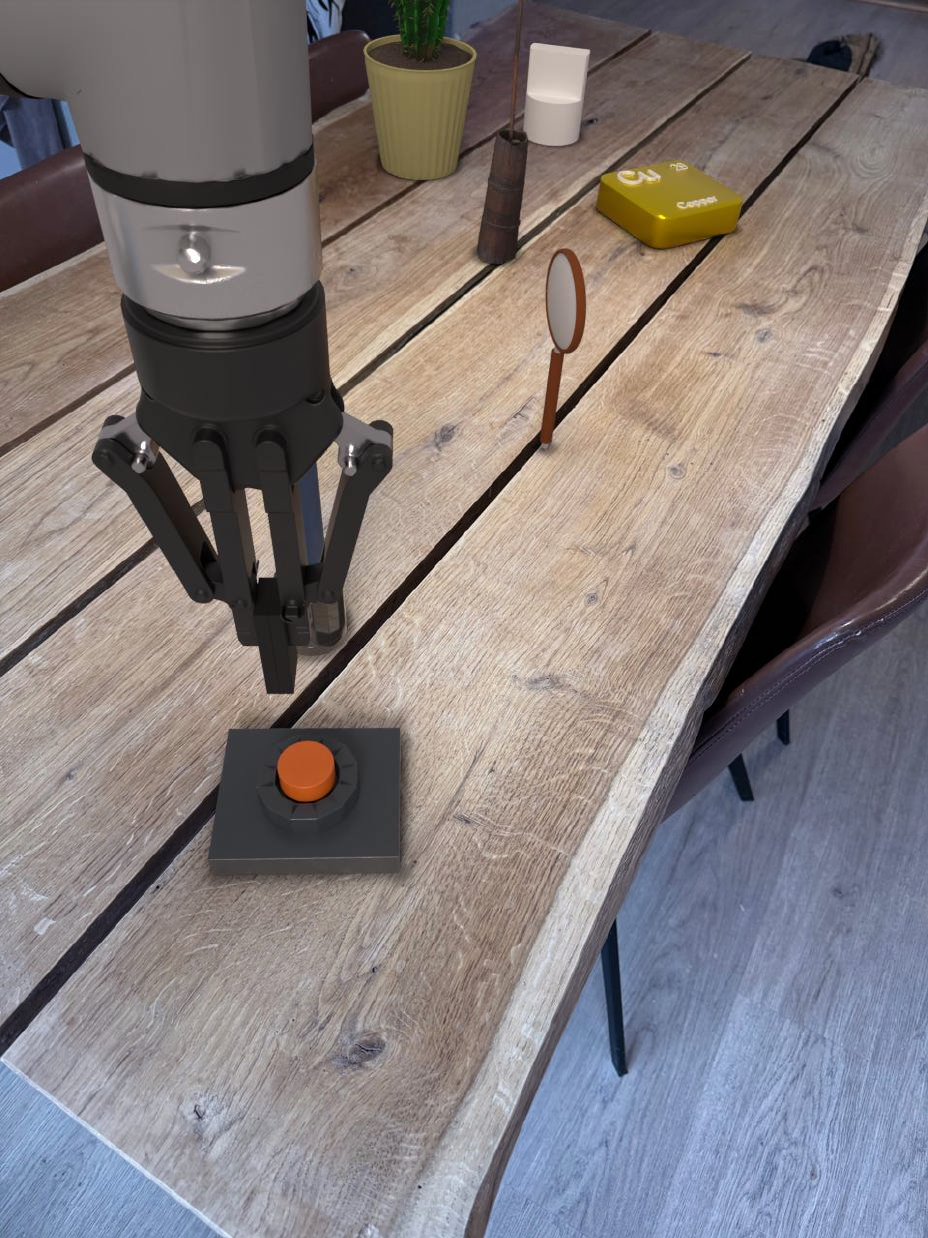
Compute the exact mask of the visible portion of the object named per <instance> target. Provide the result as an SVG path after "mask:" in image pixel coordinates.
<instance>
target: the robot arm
mask: <svg viewBox="0 0 928 1238" xmlns="http://www.w3.org/2000/svg"><path fill="white" fill-rule="evenodd" d="M307 16H308V14H307V0H0V97H9V98H19V99H30V100H44V99H52V100H57V101H58V100H59V101H62V102H64V103H65V102H66V104H67V108H68V110H69V113H70V116H71V120H72V122H73V123H72V124H73V126H74V129H75V132H76V135H77V139H78V141H79V144H80V147H81V151H82V155H83V161H84V165H85V169H86V173H87V176H88V181H89V185H90V189H91V193H92V197H93V202H94V204H95V208H96V213H97V216H98V217H97V218H98V221H99V225H100V228H101V232H102V237H103V240H104V245H105V247H106V252H107V255H108V259H109V263H110V267H111V272H112V276H113V279H114V283H115V285H116V286H117V287H118V289H119V290H120V291H121V296H120V311H121V315H122V319H123V323H124V327H125V331H126V335H127V339H128V343H129V347H130V350H131V356H132V361H133V364H134V368H135V370H136V371H135V372H136V376H137V380H138V383H139V385H140V396H139V400H138V402H137V404H136V407H135V412H133V413H131V414H129V415H128V416H126V417H125V416H123V415H120V414H111V415H107V417H106V418H105V419H104V421H103V423H102V427H101V429H100V431H99V434H98V437H97V440H96V443H95V445H94V448H93V450H92V453H91V457H90V460H91V462H92V464H93V465H94V466H95V467H96V468H97V470H99V471H100V472H102V473H103V474H104V475H105V476H106V477H107V478H109V480H111V481H112V482H113V483H114V484H115V485H116V486H118V487H119V488H120V489H122V491H123V492H125V493H126V496H127V497H128V498H129V500H130V503H132V505H133V507H134V509H135V510H136V511H137V513H138V516H140V519H141V520H142V521H143V523H144V525H145V526H146V528H147V530H148V531H149V533H150V535H151V536H152V538H153V540H154V541H155V543H156V544H157V546H158V548H159V549H160V551H161V552H162V554H163V556H164V558H165V560H166V561H167V562H168V564H169V566H170V567H171V569H172V571H173V572H174V574H175V575H176V577H177V579H178V581H179V582H180V584H181V585H182V588H183V589H184V590H185V592H186V594H187V596H188V597H189V599H191V600H192V601H193V602H194V603H196V604H197V603H198V604H200V605H201V604H209V603H211V602H213V600H216V601H220V602H223V603H224V604H226V605H227V606H228V608H230V609H231V613H232V619H233V623H234V627H235V632H236V637H237V641H238V642H239V644H240V645H241V646H242V647H258V652H259V659H260V664H261V669H262V675H263V681H264V687H265V691H266V695H294V694H295V686H296V677H297V670H298V669H297V668H298V661H299V660H298V659H299V655H298V654H299V653H297V646H308V644H309V642H310V640H311V631H312V621H313V620H312V610H311V603H312V602H314V601H317V600H319V601H320V602H322V603H325V604H333V603H336V602H338V601H339V599H340V598H341V594H342V591H343V587H344V588H345V584H346V580H347V577H348V573H349V570H350V567H351V563H352V559H353V556H354V552H355V548H356V545H357V542H358V538H359V535H360V531H361V528H362V525H363V521H364V518H365V514H366V510H367V507H368V505H369V504H368V503H369V500H370V497H371V495H372V494H373V493H374V492H375V491H376V489H377V488H378V487H379V485H380V484H381V483H382V482H383V481H384V480H385V479H386V477H387V476H388V475H389V474H390V473H391V471H392V469H393V467H394V427H393V426H392V424H391V423H390V422H389V421H387V420H384V419H375V420H373V421H371V422H369V423H368V424H367V423H366V422H364V421H362V420H361V419H358V418H357V417H355V416H353V415H352V414H350V413H348V412H346V411H345V410H346V409H345V407H346V406H345V401H344V397H343V396H342V394H341V393H340V391H339V390H338V389H337V387H336V386H335V384H334V382H333V379H332V376H331V366H330V365H331V364H330V352H329V350H330V349H329V338H328V337H329V336H328V335H329V334H328V320H327V305H326V303H327V302H326V292H325V289H324V286H323V284H322V281H321V280H320V279H321V276H322V272H323V270H324V260H323V243H322V242H323V241H322V227H321V225H322V224H321V208H320V207H321V206H320V192H319V191H320V190H319V174H318V173H319V172H318V171H319V170H318V161H317V158H316V156H315V143H314V142H315V141H314V134H313V119H312V118H313V117H312V116H313V115H312V98H311V97H312V95H311V77H310V57H309V38H308V37H309V36H308V17H307ZM333 443H336V445H337V446H338V449H337V464H338V465H339V467H340V468H342V469H341V473H340V477H339V481H338V484H337V489H336V493H335V496H334V501H333V505H332V508H331V513H330V517H329V519H328V520H329V521H328V525H327V529H326V533H325V535H324V544H323V548H322V552H321V556H320V561H319V563H315V564H311V565H308V559H307V550H306V541H305V532H304V523H303V513H302V504H301V495H300V486H299V481H300V480H301V479H302V478H303V477H304V476H305V475H306V474H307V473H308V471H309V470H310V469H311V468H312V467H313V466H314V464H315V463H316V462H317V463H318V461H319V460H320V459H321V458H322V456H323V455H324V454H325V453H326V452H327V450H329V448H330V447H331V445H332V444H333ZM160 448H161V449H162V450H163V451H164V452H165V453H167V454H168V456H170V457H171V458H172V459H173V460H174V461H175V462H177V463H178V464H179V465H180V466H181V467H182V468H183V469H185V470H186V471H187V473H189V474H190V475H191V476H193V477H194V478H195V479H197V480H198V481H199V485H200V490H201V495H202V500H203V504H204V509H205V512H206V513H208V514H209V519H210V523H211V528H212V533H213V538H214V542H215V547H216V549H215V547H214V546H213V544H212V542H211V540H210V539H209V536H208V535H207V533H206V531H205V529H204V527H203V525H202V524H201V522H200V520H199V518H198V516H197V515H196V513H195V511H194V509H193V507H192V506H191V504H190V502H189V500H188V498H187V496H186V495H185V493H184V490H183V489H182V488H181V486H180V483H179V482H178V480H177V478H176V476H175V475H174V472H173V470H172V469H171V467H170V465H169V464H168V461H167V460H166V458H165V456H164V455H163V454H162V452H161V451H160ZM246 489H253V490H258V491H261V496H262V502H263V508H264V513H265V514H267V521H268V527H269V534H270V541H271V547H272V553H273V560H274V562H273V563H274V567H275V572H276V575H277V577H274V576H273V577H271V576H269V577H265V576H264V577H263V576H261V577H260V576H259V577H258V573H259V566H260V559H257V557H256V556H257V555H256V550H255V544H254V537H253V531H252V526H251V520H250V512H249V507H248V506H249V505H248V499H247V494H246V493H247V492H246Z"/></svg>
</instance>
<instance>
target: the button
mask: <svg viewBox="0 0 928 1238" xmlns="http://www.w3.org/2000/svg"><path fill="white" fill-rule="evenodd" d="M277 768H278V774H279V779H280V784H281V787H282V790H283V791H284V793H285V794H286V795H287V796H289V797H290V798H292V799H294V800H297V801H301V802H310V801H315V800H318V799H320V798H322V797H324V796H325V795H326V794H327V793H328V792H329V791H330V790H331V789H332V787H333V785H334V783H335V778H336V774H335V765H334V758H333V755H332V753H331V751H330V750H329V749H328V748H327V747H326V746H324V745H323V744H321V743H318V742H315V741H301V742H297V743H295V744H293V745H291V746H289V747H288V748H287V749H286V750H285V751H284V752H283V753H282V754H281V756H280V758H279V760H278V766H277Z"/></svg>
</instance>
